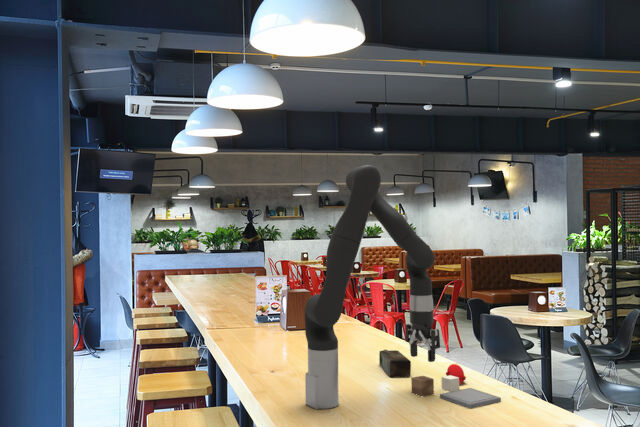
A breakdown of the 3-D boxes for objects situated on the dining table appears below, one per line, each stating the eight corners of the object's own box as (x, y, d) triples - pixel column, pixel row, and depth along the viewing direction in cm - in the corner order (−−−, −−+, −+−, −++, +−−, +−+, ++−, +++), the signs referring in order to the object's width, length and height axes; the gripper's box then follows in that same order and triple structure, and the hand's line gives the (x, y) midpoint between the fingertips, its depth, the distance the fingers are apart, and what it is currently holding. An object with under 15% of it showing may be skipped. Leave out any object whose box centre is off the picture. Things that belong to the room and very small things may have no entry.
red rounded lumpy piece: (443, 370, 212) (442, 364, 207) (459, 364, 212) (458, 358, 207) (452, 391, 207) (451, 386, 202) (468, 385, 207) (468, 380, 202)
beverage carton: (399, 365, 234) (398, 348, 234) (411, 378, 215) (411, 359, 215) (378, 365, 233) (378, 348, 233) (389, 378, 214) (389, 360, 214)
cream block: (450, 391, 196) (449, 379, 196) (441, 389, 200) (441, 376, 200) (459, 390, 198) (459, 377, 198) (450, 387, 202) (450, 375, 202)
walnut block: (421, 397, 191) (421, 381, 191) (411, 393, 195) (411, 377, 195) (433, 394, 193) (433, 378, 193) (423, 390, 198) (423, 375, 198)
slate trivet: (469, 408, 178) (469, 404, 178) (439, 397, 189) (439, 393, 189) (500, 401, 185) (500, 397, 185) (470, 391, 196) (470, 387, 196)
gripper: (398, 307, 199) (399, 356, 199) (427, 312, 187) (428, 365, 187) (416, 305, 203) (417, 353, 203) (445, 310, 190) (446, 361, 190)
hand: (422, 358), depth 195 cm, fingers open, 8 cm apart
